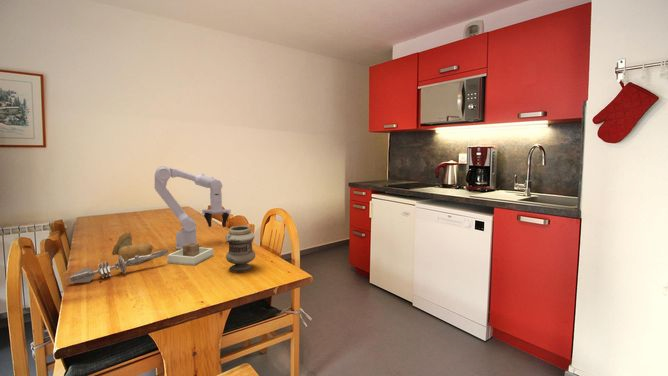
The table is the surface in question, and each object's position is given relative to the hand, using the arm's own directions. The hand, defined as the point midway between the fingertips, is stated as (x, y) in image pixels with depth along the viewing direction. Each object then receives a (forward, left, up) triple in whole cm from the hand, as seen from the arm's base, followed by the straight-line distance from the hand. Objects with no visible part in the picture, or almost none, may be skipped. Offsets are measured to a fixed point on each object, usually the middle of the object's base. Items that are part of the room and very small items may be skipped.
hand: (217, 226), depth 175 cm
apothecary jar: (+32, -30, -10) cm, 45 cm away
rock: (-38, -24, -10) cm, 46 cm away
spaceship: (-12, -48, -10) cm, 50 cm away
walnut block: (+3, -25, -9) cm, 26 cm away
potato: (-19, -34, -10) cm, 40 cm away
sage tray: (+3, -25, -9) cm, 27 cm away
